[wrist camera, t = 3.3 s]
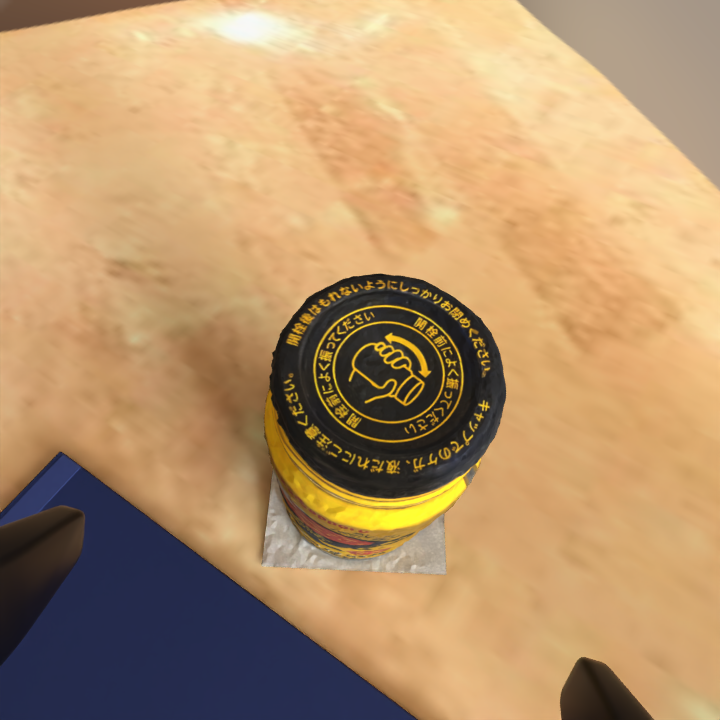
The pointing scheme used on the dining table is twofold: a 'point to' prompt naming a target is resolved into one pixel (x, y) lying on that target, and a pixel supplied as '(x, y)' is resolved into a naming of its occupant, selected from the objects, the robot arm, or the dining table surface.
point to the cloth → (162, 631)
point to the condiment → (376, 425)
